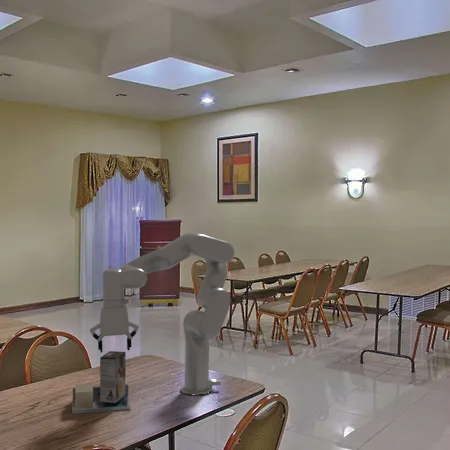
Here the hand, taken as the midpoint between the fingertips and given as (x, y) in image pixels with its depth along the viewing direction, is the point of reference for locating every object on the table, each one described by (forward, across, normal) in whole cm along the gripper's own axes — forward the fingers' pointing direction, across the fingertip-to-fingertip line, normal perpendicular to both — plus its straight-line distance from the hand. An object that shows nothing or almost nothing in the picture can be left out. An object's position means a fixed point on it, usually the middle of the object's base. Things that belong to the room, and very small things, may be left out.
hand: (114, 350), depth 195 cm
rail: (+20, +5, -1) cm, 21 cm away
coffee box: (+18, +1, 0) cm, 18 cm away
